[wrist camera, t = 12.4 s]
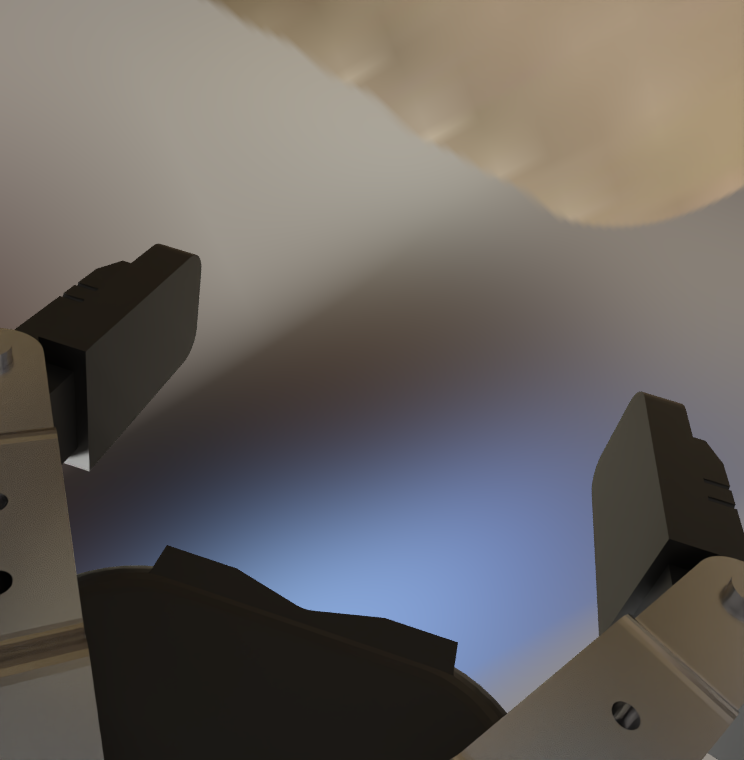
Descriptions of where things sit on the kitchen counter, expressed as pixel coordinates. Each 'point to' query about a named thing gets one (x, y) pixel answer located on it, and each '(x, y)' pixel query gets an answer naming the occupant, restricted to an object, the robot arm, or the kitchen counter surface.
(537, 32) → the kitchen counter surface
